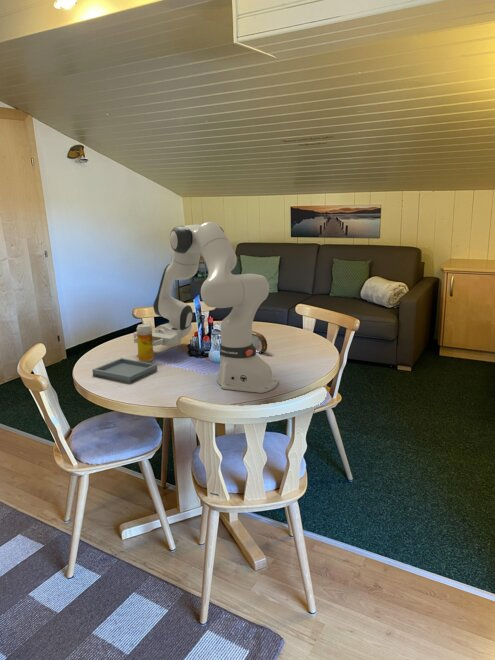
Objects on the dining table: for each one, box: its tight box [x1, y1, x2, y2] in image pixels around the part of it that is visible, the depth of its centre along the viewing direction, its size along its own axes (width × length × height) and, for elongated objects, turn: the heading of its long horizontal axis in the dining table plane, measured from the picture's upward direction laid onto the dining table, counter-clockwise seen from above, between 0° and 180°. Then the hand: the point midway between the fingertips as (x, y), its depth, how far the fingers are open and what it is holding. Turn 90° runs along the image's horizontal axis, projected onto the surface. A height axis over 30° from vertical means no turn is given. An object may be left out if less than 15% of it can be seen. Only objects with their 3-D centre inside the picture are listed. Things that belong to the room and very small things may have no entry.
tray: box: [92, 357, 158, 384], centre depth 185 cm, size 18×16×2 cm
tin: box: [252, 330, 268, 353], centre depth 212 cm, size 15×3×8 cm, turn 34°
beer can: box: [136, 323, 154, 363], centre depth 198 cm, size 6×6×15 cm
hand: (144, 342), depth 198 cm, fingers open, 8 cm apart
